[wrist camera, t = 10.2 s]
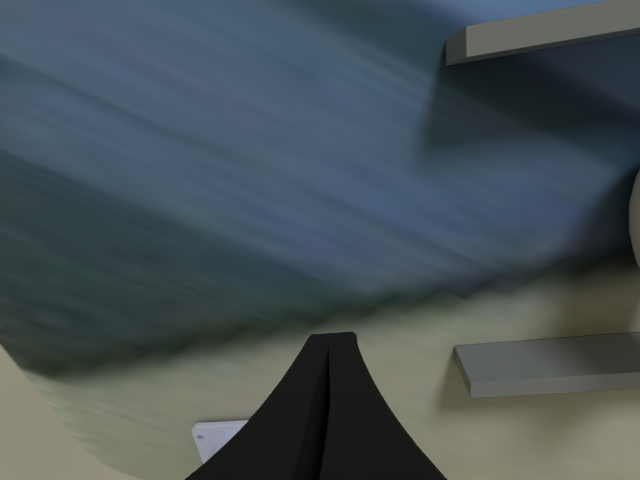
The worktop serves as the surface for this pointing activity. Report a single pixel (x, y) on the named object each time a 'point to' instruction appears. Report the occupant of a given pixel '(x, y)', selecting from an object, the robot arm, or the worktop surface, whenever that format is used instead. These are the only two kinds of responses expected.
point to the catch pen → (559, 353)
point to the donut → (635, 218)
